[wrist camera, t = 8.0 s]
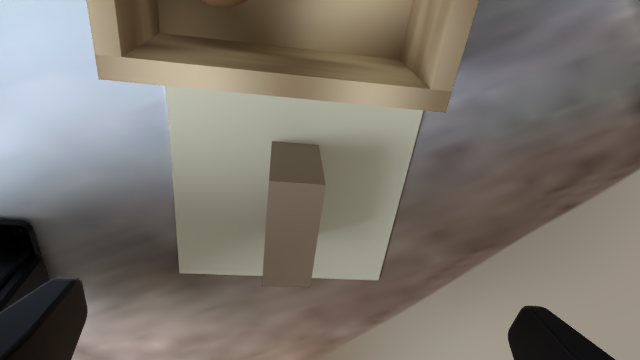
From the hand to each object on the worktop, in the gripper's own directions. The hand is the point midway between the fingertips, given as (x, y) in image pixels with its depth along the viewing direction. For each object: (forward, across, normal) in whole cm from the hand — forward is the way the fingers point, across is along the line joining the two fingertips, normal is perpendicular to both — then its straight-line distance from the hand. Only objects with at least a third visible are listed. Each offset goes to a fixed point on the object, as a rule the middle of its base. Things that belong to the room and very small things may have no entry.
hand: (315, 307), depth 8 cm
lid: (+13, 0, +5) cm, 14 cm away
